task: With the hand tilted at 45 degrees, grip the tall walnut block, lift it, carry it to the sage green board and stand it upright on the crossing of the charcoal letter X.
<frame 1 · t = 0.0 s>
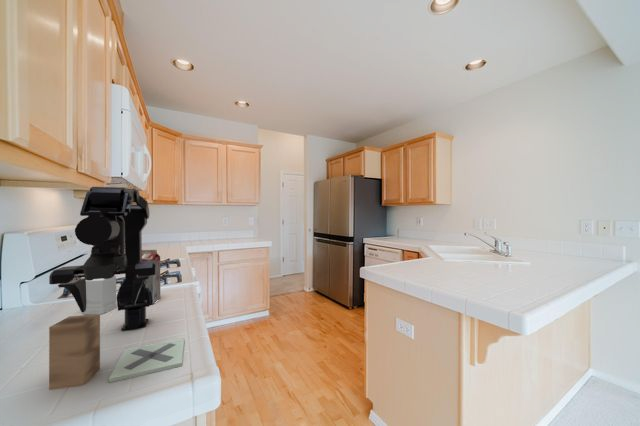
hand: (109, 308, 60), 15 cm above the worktop, tool pointing down, fingers open, 9 cm apart
juice carton: (148, 303, 108), on the worktop
supplement box: (100, 311, 99), on the worktop
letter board: (152, 358, 65), on the worktop
walnut block: (76, 378, 58), on the worktop
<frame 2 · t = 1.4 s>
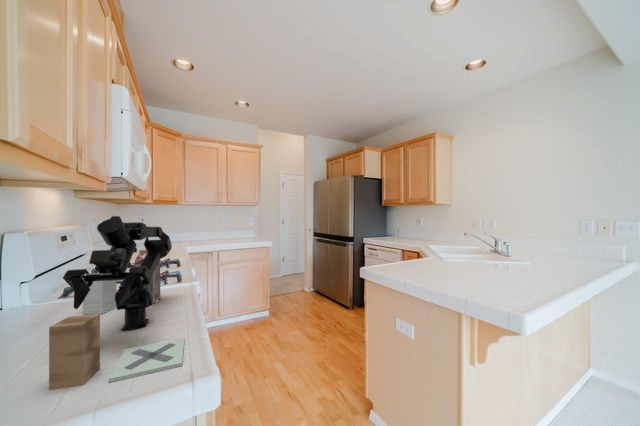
hand: (97, 306, 65), 13 cm above the worktop, tool tilted 45°, fingers open, 9 cm apart
nothing on the worktop moved.
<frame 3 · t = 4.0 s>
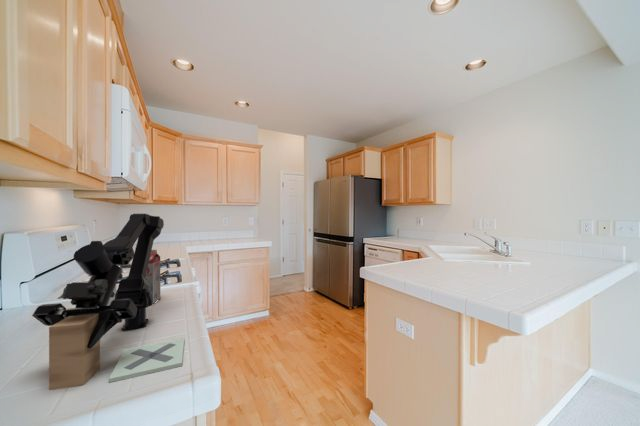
hand: (71, 349, 56), 7 cm above the worktop, tool tilted 45°, fingers closed on walnut block, 6 cm apart
walnut block: (76, 378, 58), on the worktop, touching gripper
everything else where it was.
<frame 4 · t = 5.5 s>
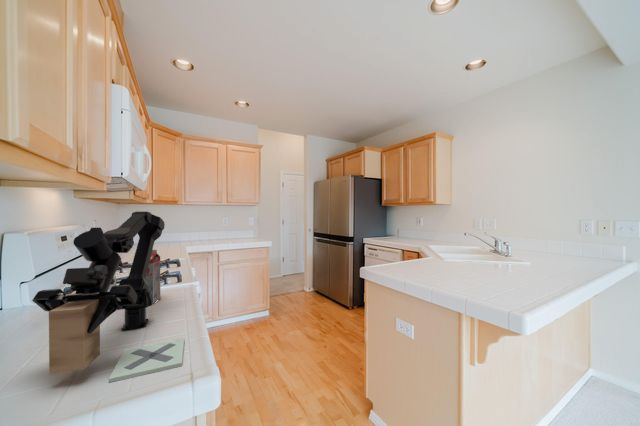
hand: (71, 334, 56), 10 cm above the worktop, tool tilted 45°, fingers closed on walnut block, 6 cm apart
walnut block: (76, 363, 58), point 3 cm above the worktop, touching gripper
everything else where it was.
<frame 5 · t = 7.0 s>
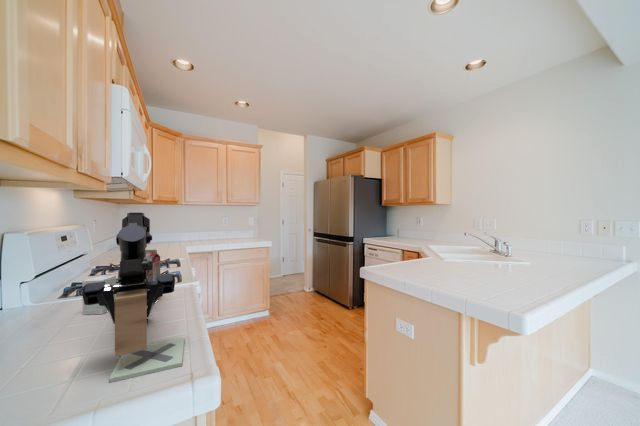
hand: (131, 319, 61), 11 cm above the worktop, tool tilted 45°, fingers closed on walnut block, 6 cm apart
walnut block: (131, 347, 63), point 4 cm above the worktop, touching gripper
everything else where it was.
when the fingers open (9 cm above the worktop, at t = 8.7 s): walnut block drops 1 cm, resting on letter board.
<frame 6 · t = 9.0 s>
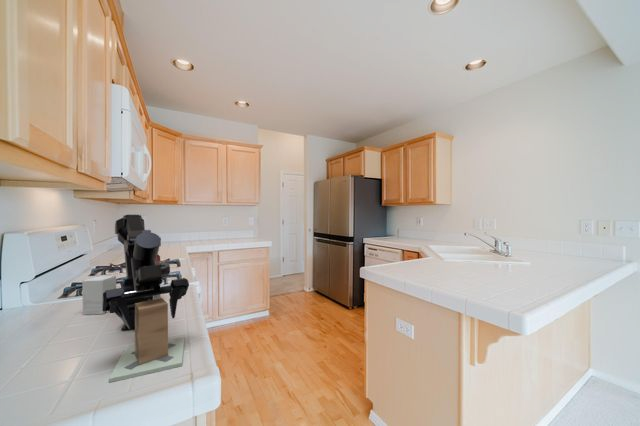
hand: (153, 322, 64), 9 cm above the worktop, tool tilted 45°, fingers open, 9 cm apart
walnut block: (151, 355, 65), point 1 cm above the worktop, touching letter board
everything else where it was.
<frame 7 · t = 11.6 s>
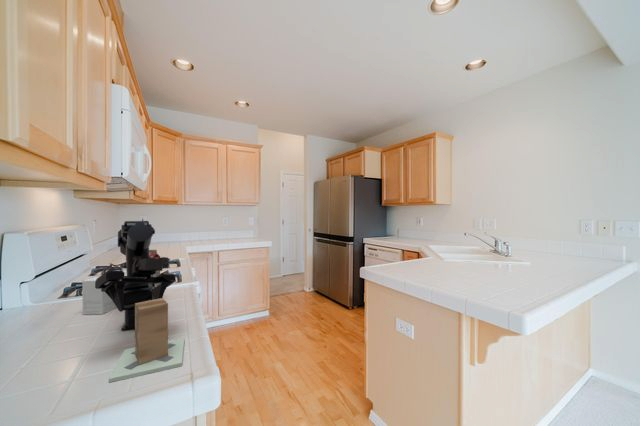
hand: (140, 309, 71), 10 cm above the worktop, tool tilted 35°, fingers open, 9 cm apart
nothing on the worktop moved.
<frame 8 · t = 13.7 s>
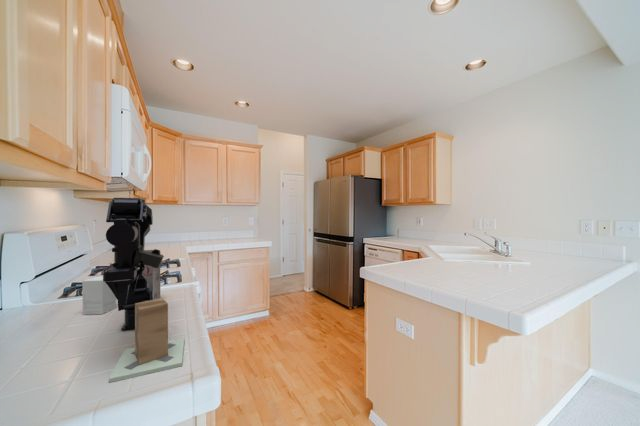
hand: (127, 299, 71), 13 cm above the worktop, tool pointing down, fingers open, 9 cm apart
nothing on the worktop moved.
at the end: walnut block 0.1 cm off-centre on the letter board, point 0.9 cm above the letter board's base; walnut block tilted 0°; the gripper is holding nothing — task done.
